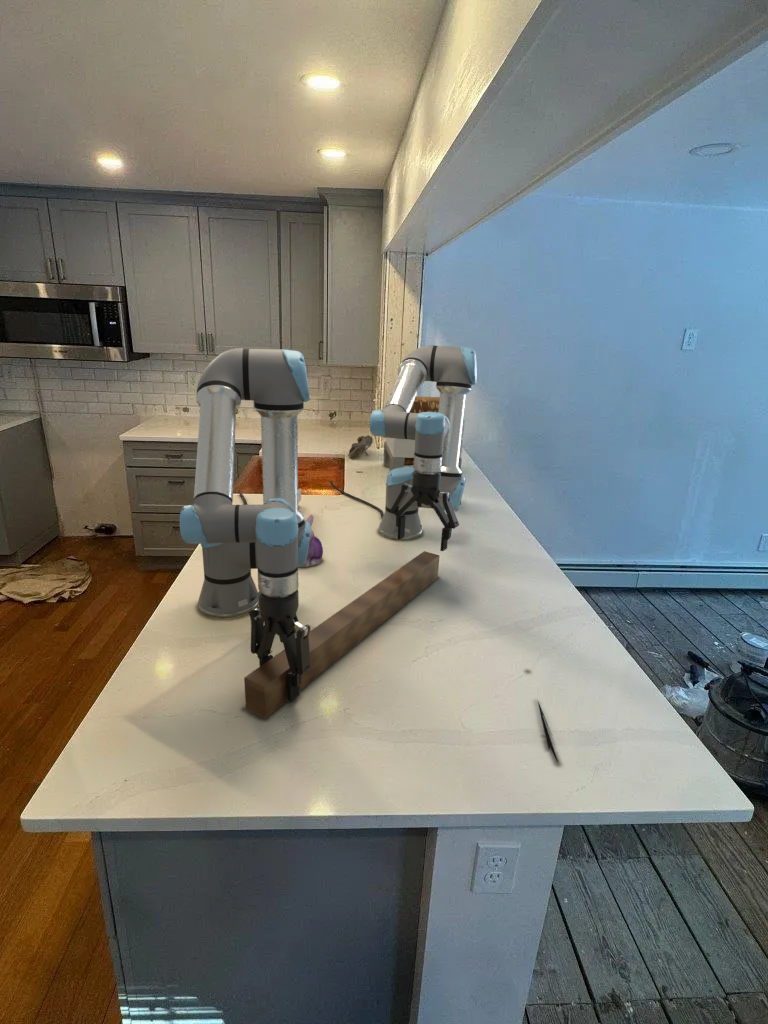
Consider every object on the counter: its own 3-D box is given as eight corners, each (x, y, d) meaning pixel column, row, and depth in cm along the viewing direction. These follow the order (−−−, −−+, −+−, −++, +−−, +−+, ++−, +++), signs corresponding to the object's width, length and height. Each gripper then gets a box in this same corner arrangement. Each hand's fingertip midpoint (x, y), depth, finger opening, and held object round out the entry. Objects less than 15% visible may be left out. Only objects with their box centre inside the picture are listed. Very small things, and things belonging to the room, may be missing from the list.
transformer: (382, 463, 289) (386, 382, 275) (445, 464, 293) (451, 384, 279) (390, 482, 257) (394, 392, 243) (460, 483, 261) (468, 394, 247)
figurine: (300, 570, 169) (299, 523, 164) (289, 557, 177) (288, 512, 172) (329, 565, 173) (330, 519, 168) (317, 552, 181) (317, 508, 176)
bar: (422, 573, 171) (424, 550, 168) (437, 577, 169) (439, 555, 166) (245, 708, 111) (243, 677, 108) (265, 719, 108) (264, 686, 106)
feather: (528, 675, 127) (534, 669, 126) (557, 767, 100) (564, 760, 99) (522, 671, 126) (527, 665, 126) (550, 762, 100) (557, 755, 99)
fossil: (348, 441, 313) (370, 426, 308) (359, 455, 316) (380, 440, 311) (342, 455, 293) (365, 439, 288) (353, 469, 296) (376, 454, 291)
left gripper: (227, 583, 109) (233, 684, 117) (305, 612, 100) (305, 719, 108) (254, 569, 115) (258, 666, 123) (330, 596, 106) (329, 698, 114)
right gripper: (380, 465, 155) (377, 537, 162) (464, 482, 143) (456, 559, 150) (394, 460, 161) (390, 529, 168) (475, 476, 149) (468, 550, 157)
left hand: (280, 691), depth 115 cm, fingers open, 6 cm apart
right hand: (421, 543), depth 159 cm, fingers open, 13 cm apart
